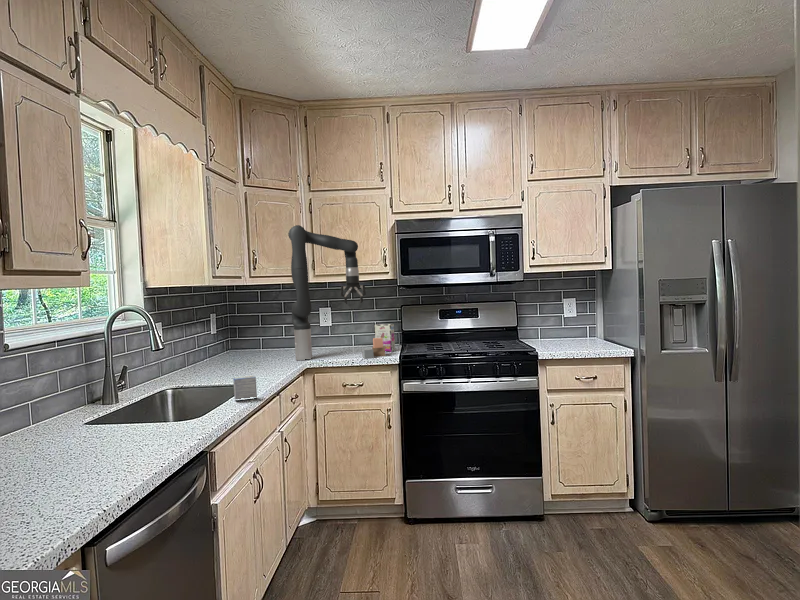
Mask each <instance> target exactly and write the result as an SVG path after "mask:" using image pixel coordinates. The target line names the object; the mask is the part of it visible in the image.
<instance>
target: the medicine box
mask: <svg viewBox="0 0 800 600" xmlns="http://www.w3.org/2000/svg"><path fill="white" fill-rule="evenodd" d="M232 379H233V393H234V400H235V399H241V398H250V397H257V398H258V394H257V393H258V391H257V389H258V388H257V377H256V375H254V374H252V375H244V376H236V377H233V378H232Z"/></svg>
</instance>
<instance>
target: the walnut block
mask: <svg viewBox="0 0 800 600" xmlns="http://www.w3.org/2000/svg"><path fill="white" fill-rule="evenodd" d="M371 349H373V355H374V356H379V357H386V352H385V346H383V347H381V348H374V347H373V346H372V348H371Z"/></svg>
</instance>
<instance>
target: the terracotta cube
mask: <svg viewBox="0 0 800 600" xmlns="http://www.w3.org/2000/svg"><path fill="white" fill-rule="evenodd" d="M372 347H374V348H381V347H383V338H375V337H373V338H372Z"/></svg>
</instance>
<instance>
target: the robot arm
mask: <svg viewBox="0 0 800 600" xmlns="http://www.w3.org/2000/svg"><path fill="white" fill-rule="evenodd" d="M288 238H289V239H290V242H291V251H292V252H291V261H290V269H291V273H290V274H291V280H292V283H293V286H294V290H295V291H296V292H295V294H296V301H295V302H293V303H292V305H291V321H292V325H293V329H294V330H293V331H294V332H293V333H294V353H295V361H306V360H305V359H310V360H312V359H313V346H312V329H311V326H312V325H311V323H310V321H309V316H310V315H311V313H312V302H311V297H310V296H311V295H310V286H309V285H310V284H309V282H310V281H309V267H308V266H309V265H308V257H307V252H306V244H311V245H316V246H320V247H324V248H327V249H332V250H337V251H338V250H339V251H343V253H344V257H345V279H346V280H345V282H346V283H345V286H344V285H341V287H340V296H341V297H343V298H344V299H343V300H344V303H345V304H346V305H347V304H348V297H347V296H348V295H349V294H352V293H353V294H355V293H357V294H358V295H359V302H360V303H361V304H363V302H364V298H363V297H364V296H366V295H367V294H366V285H365V284H360V271H359V262H358V258H357V251H358V249H359V244H358V243H357V242H356V241H355V240H352V239H346V238H341V237H337V236H333V235H328V234H320V233H314V232H311V231H308V230H306V229H305V228H304V227H303V226H301V225H299V224H297V225H293V226H292V227H291V228H290V229H289V230H288ZM345 289H346V292H345V294H344V291H345ZM360 289H361V290H362V292H361V291H360ZM311 358H312V359H311Z"/></svg>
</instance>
